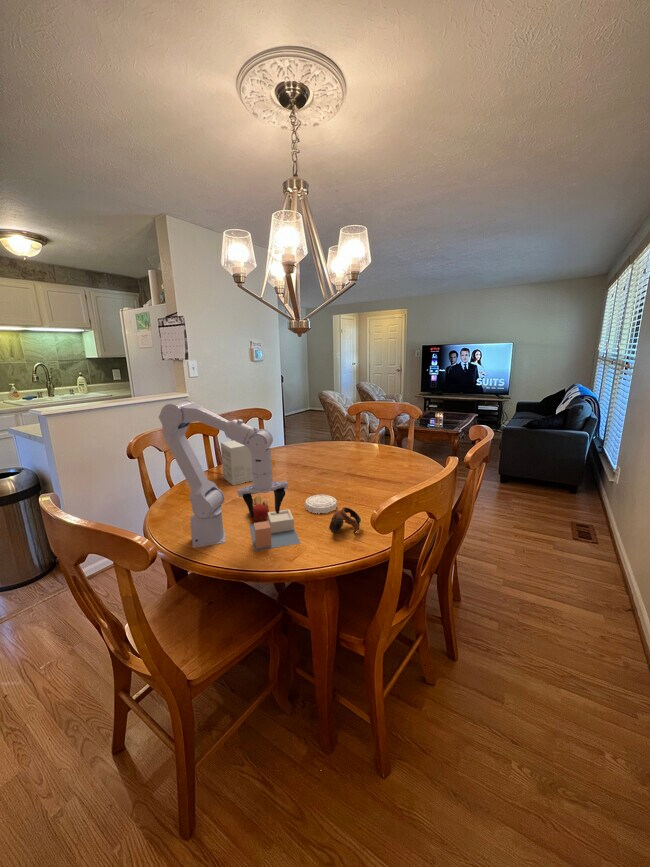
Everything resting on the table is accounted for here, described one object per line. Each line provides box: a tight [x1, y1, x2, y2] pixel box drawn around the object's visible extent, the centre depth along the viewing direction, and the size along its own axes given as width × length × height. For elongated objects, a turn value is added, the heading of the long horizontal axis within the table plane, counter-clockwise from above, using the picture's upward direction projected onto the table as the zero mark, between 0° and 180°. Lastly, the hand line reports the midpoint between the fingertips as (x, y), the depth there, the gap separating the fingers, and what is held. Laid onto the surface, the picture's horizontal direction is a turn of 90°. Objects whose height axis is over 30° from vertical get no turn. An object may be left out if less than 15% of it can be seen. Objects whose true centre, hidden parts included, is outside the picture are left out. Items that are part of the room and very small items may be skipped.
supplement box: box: [220, 440, 253, 486], centre depth 157 cm, size 13×13×18 cm
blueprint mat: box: [249, 523, 301, 552], centre depth 109 cm, size 14×17×1 cm
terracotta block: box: [253, 520, 272, 548], centre depth 102 cm, size 4×4×6 cm
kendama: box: [248, 495, 270, 523], centre depth 123 cm, size 8×6×18 cm
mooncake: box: [304, 494, 338, 515], centre depth 127 cm, size 12×12×4 cm
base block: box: [267, 509, 295, 533], centre depth 113 cm, size 8×8×4 cm
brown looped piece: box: [328, 507, 362, 534], centre depth 110 cm, size 12×10×8 cm
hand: (264, 514), depth 102 cm, fingers open, 7 cm apart
